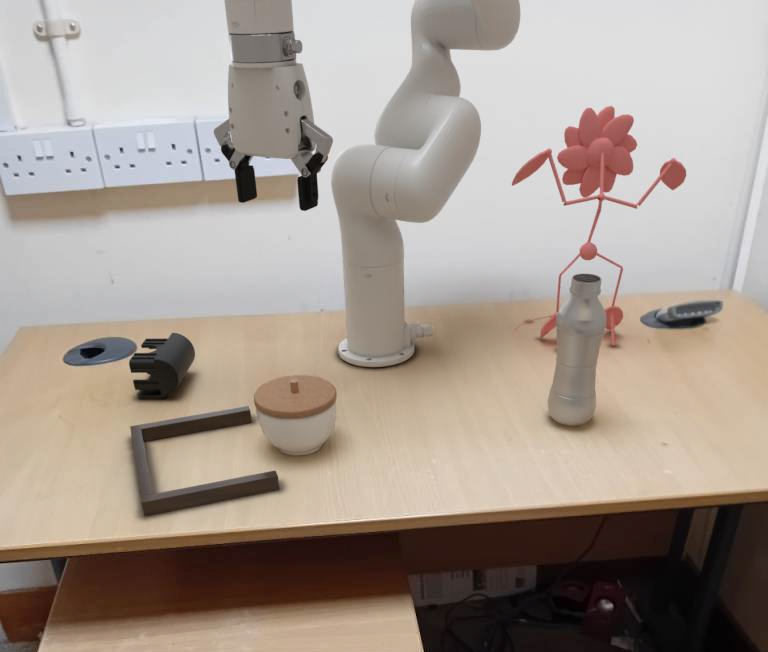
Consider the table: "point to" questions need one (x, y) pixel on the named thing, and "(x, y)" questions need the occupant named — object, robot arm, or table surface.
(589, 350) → the plastic bottle
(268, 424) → the trinket box
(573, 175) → the figurine
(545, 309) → the table surface
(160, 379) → the end cap
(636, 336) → the table surface
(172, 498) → the frame
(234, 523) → the table surface
